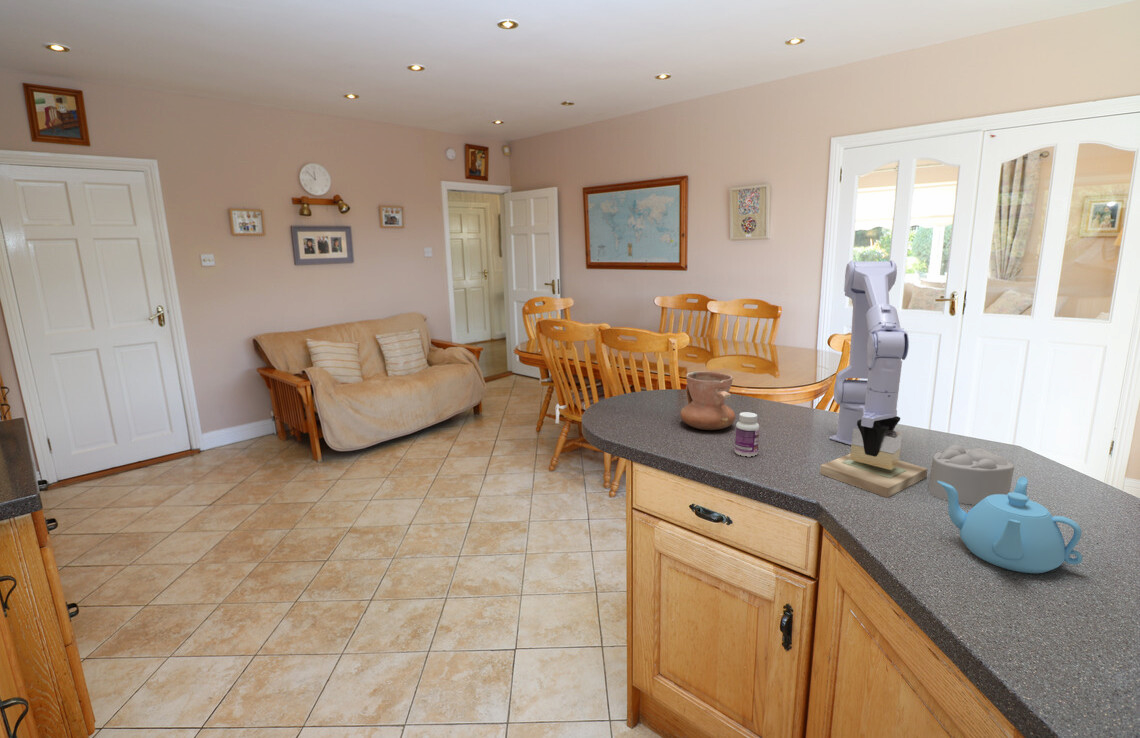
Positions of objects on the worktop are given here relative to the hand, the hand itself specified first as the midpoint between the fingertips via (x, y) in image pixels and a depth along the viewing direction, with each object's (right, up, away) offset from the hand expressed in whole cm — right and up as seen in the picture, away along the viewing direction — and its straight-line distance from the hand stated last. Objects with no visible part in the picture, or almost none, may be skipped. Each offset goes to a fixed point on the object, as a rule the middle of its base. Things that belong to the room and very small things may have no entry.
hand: (875, 451), depth 115 cm
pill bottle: (-22, -3, +15) cm, 27 cm away
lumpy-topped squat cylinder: (+13, -7, -7) cm, 17 cm away
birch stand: (0, -5, +1) cm, 5 cm away
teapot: (+4, -12, -28) cm, 31 cm away
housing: (0, -2, +1) cm, 2 cm away
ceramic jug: (-27, +2, +35) cm, 44 cm away
